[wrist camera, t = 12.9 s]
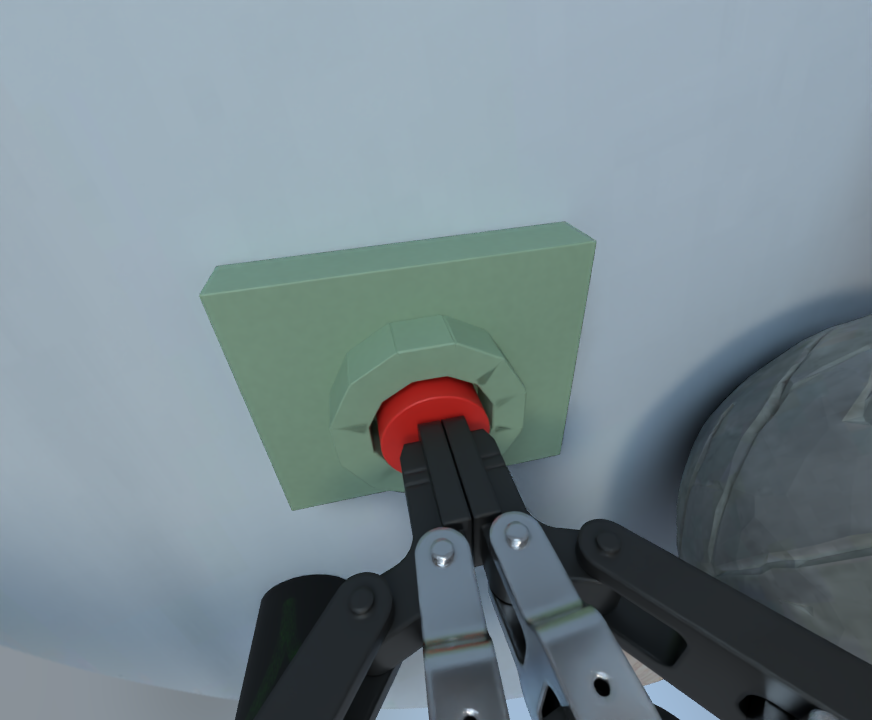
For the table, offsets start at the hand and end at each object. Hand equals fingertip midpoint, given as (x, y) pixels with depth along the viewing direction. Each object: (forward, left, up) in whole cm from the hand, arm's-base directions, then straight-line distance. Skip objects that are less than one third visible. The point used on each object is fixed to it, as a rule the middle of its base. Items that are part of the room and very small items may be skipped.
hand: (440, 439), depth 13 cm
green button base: (0, 0, -5) cm, 5 cm away
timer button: (0, 0, -2) cm, 2 cm away
